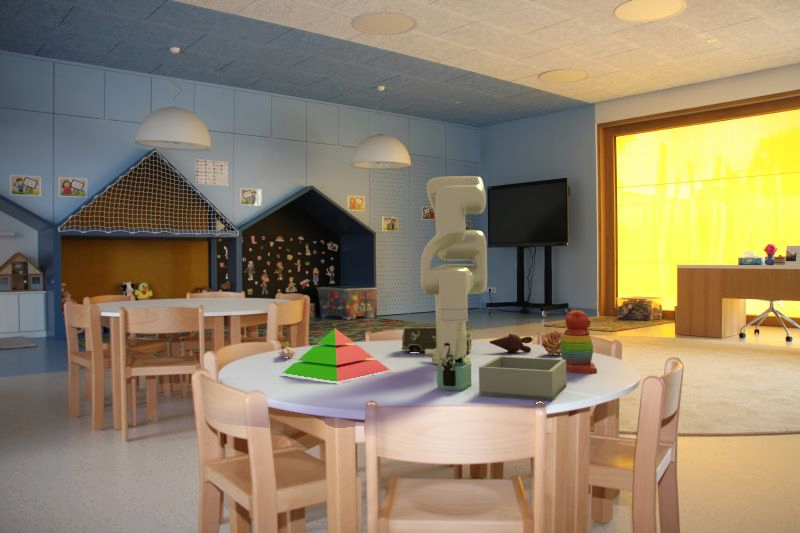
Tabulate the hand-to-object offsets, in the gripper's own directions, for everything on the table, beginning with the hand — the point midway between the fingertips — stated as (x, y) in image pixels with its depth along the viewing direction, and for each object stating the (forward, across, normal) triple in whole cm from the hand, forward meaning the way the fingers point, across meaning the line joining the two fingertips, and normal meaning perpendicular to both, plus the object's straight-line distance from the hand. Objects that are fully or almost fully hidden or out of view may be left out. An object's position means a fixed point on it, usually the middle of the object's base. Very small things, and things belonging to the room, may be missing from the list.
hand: (454, 382), depth 171 cm
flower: (+2, -62, +14) cm, 64 cm away
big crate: (+1, -2, +18) cm, 18 cm away
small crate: (+1, 0, 0) cm, 1 cm away
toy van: (+2, -56, -26) cm, 62 cm away
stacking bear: (+2, -36, +26) cm, 44 cm away
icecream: (+2, -63, -1) cm, 63 cm away
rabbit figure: (+2, -28, -71) cm, 76 cm away
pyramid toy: (+2, -7, -40) cm, 41 cm away
